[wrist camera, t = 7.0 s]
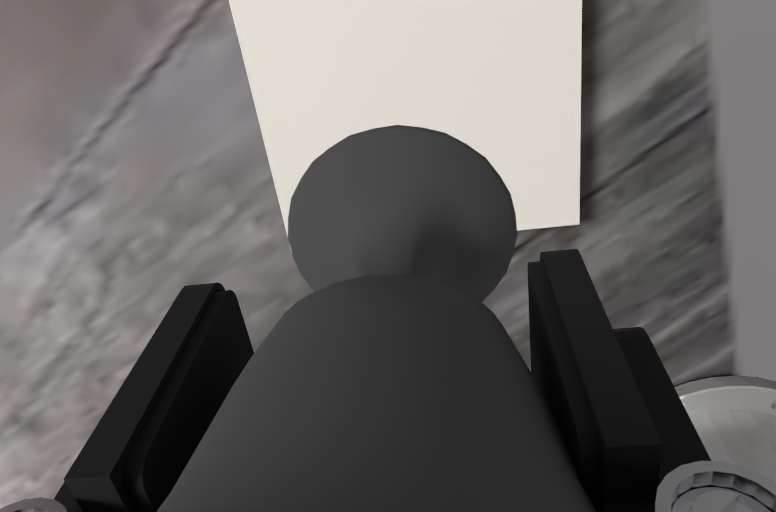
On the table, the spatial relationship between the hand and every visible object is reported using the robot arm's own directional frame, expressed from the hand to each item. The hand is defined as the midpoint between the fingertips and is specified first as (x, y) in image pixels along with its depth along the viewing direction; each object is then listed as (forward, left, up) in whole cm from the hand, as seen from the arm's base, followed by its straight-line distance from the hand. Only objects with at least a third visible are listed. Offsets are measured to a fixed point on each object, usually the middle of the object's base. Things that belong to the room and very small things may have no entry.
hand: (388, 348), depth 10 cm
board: (0, 0, -20) cm, 20 cm away
